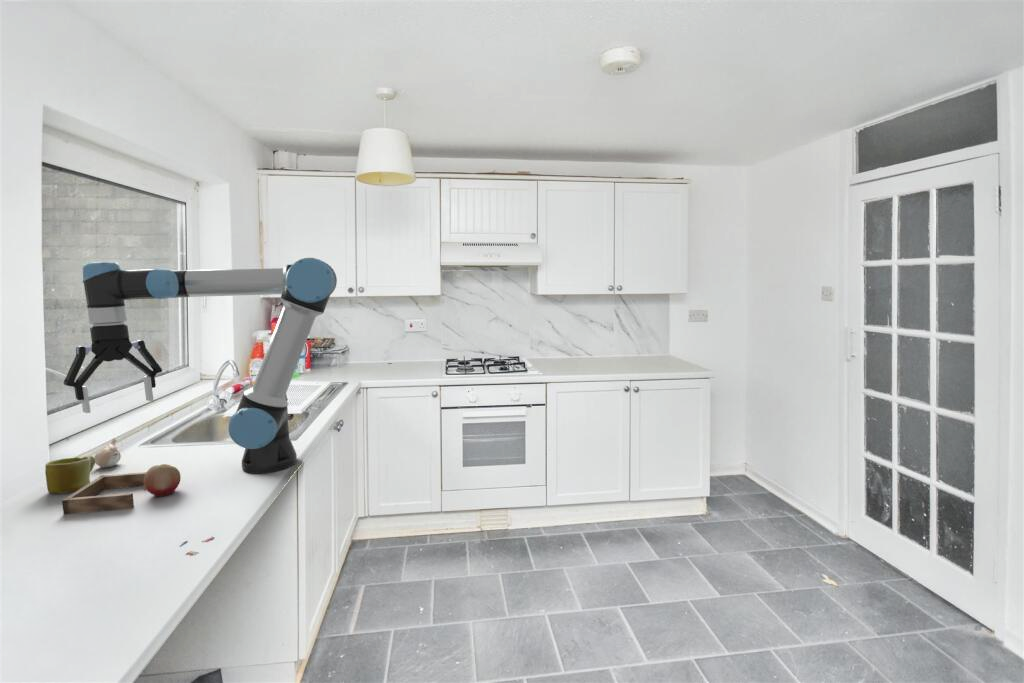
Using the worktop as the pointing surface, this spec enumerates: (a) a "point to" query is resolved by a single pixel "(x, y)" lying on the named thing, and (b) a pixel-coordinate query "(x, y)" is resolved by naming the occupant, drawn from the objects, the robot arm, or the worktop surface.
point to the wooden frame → (90, 502)
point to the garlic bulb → (108, 455)
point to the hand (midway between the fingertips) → (119, 406)
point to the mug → (68, 474)
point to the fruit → (162, 479)
